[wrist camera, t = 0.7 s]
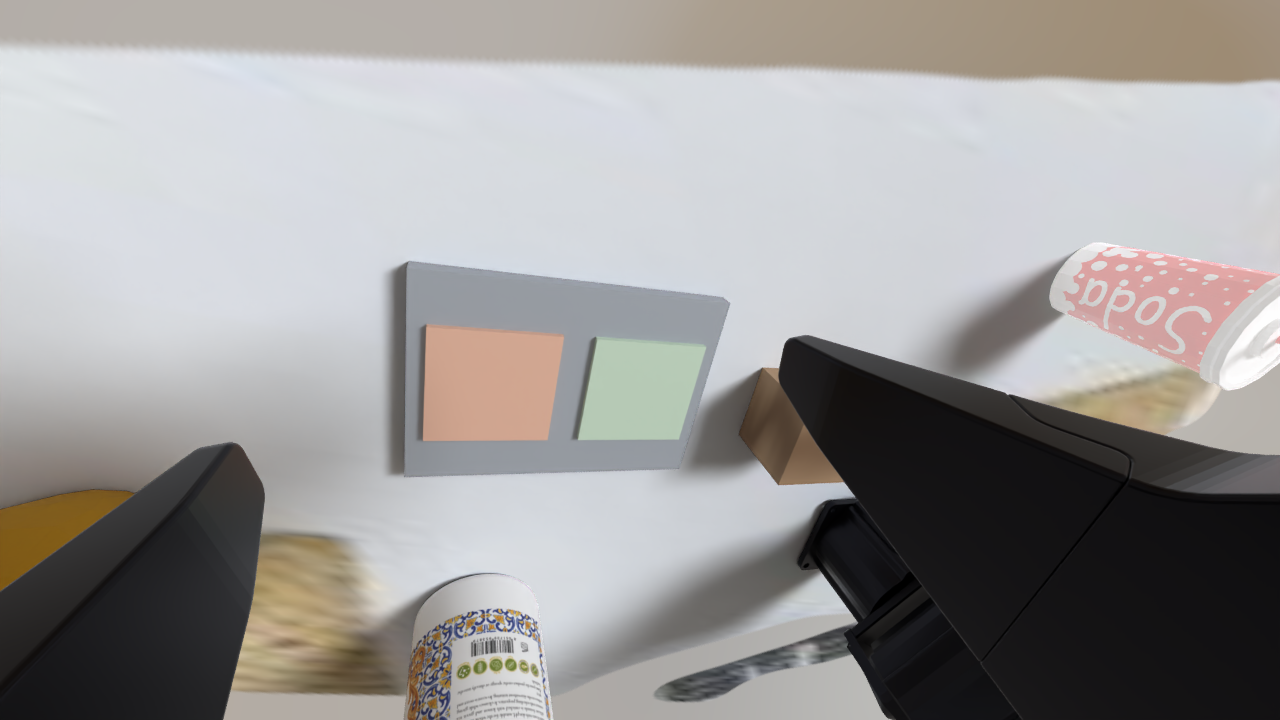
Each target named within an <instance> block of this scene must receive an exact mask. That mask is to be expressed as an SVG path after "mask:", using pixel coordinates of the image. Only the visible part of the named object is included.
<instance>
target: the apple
mask: <svg viewBox="0 0 1280 720" xmlns="http://www.w3.org/2000/svg"><path fill="white" fill-rule="evenodd" d="M132 495H134V493H132V492H129V491H113V490H87V491H80V492H74V493H67V494H61V495H57V496H53V497H49V498H44V499H40V500H36V501H32V502H28V503H24V504H20V505H16V506H12V507H8V508H4V509H0V591H1V590H2V589H4V588H5V587H6V586H8V585H9V584H10V583H12V582H13V581H15V580H16V579H17V578H19V577H20V576H22V575H23V574H24V573H26V572H27V571H28V570H30V569H31V568H33V567H34V566H35V565H37V564H38V563H40V562H41V561H42V560H44V559H45V558H47V557H48V556H49V555H51V554H52V553H53V552H55V551H56V550H58V549H59V548H60V547H62V546H63V545H65V544H66V543H67V542H69V541H70V540H71V539H73V538H74V537H76V536H77V535H78V534H80V533H81V532H83V531H84V530H85V529H87V528H88V527H89V526H91V525H92V524H94V523H95V522H96V521H98V520H99V519H101V518H102V517H103V516H105V515H106V514H107V513H109V512H110V511H112V510H113V509H114V508H116V507H117V506H119V505H120V504H121V503H123V502H124V501H126V500H127V499H128V498H130V497H131V496H132Z"/></svg>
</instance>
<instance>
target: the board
mask: <svg viewBox="0 0 1280 720" xmlns="http://www.w3.org/2000/svg"><path fill="white" fill-rule="evenodd" d="M729 306H730V303H729V302H728V301H727V300H726V299H724V298H723V297H716V296H707V295H698V294H690V293H681V292H672V291H663V290H655V289H646V288H637V287H629V286H620V285H611V284H602V283H594V282H585V281H576V280H568V279H559V278H550V277H542V276H533V275H524V274H515V273H507V272H498V271H489V270H481V269H472V268H463V267H455V266H446V265H437V264H428V263H420V262H411V261H409V262H408V265H407V279H406V374H405V470H404V477H422V476H456V475H490V474H524V473H558V472H592V471H626V470H659V469H679V468H680V465H681V462H682V458H683V455H684V452H685V449H686V445H687V442H688V439H689V436H690V432H691V429H692V426H693V423H694V419H695V416H696V413H697V410H698V406H699V403H700V400H701V397H702V393H703V390H704V387H705V384H706V380H707V377H708V374H709V371H710V367H711V364H712V361H713V358H714V355H715V351H716V348H717V345H718V342H719V338H720V335H721V332H722V329H723V325H724V322H725V319H726V316H727V312H728V309H729Z"/></svg>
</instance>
